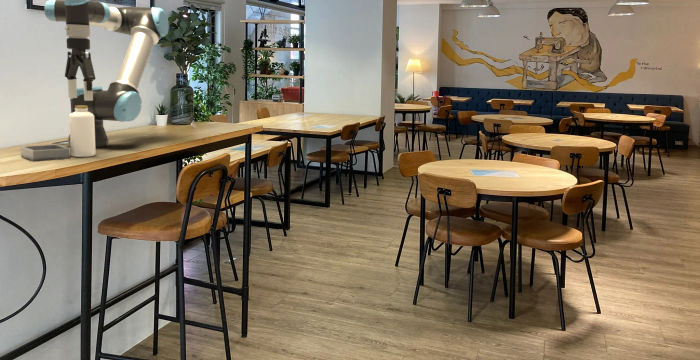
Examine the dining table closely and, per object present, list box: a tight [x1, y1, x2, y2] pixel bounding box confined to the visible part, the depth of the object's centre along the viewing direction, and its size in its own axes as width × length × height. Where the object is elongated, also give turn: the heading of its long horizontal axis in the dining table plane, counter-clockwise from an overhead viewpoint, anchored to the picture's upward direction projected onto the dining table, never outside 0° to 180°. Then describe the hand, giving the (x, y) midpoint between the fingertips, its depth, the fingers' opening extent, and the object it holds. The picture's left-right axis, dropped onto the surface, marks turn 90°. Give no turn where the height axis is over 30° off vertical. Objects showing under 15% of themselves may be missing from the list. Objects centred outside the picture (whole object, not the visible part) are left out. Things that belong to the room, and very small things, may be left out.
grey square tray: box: [20, 144, 71, 162], centre depth 222 cm, size 12×12×4 cm
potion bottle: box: [68, 105, 97, 158], centre depth 227 cm, size 8×8×18 cm
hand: (80, 99), depth 224 cm, fingers open, 13 cm apart
